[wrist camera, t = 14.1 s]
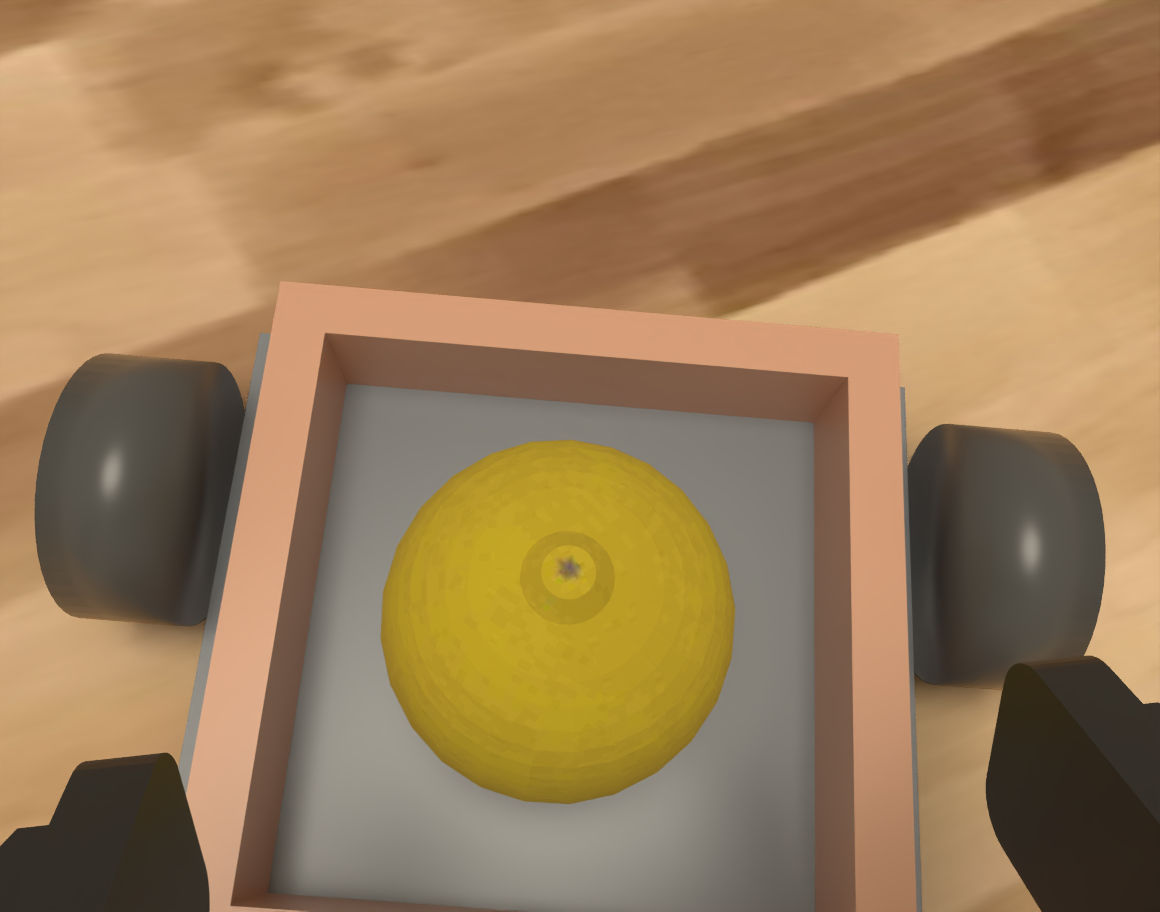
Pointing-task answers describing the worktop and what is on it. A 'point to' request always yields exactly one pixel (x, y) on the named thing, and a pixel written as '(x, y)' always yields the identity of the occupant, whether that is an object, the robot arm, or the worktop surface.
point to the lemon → (557, 621)
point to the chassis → (546, 413)
